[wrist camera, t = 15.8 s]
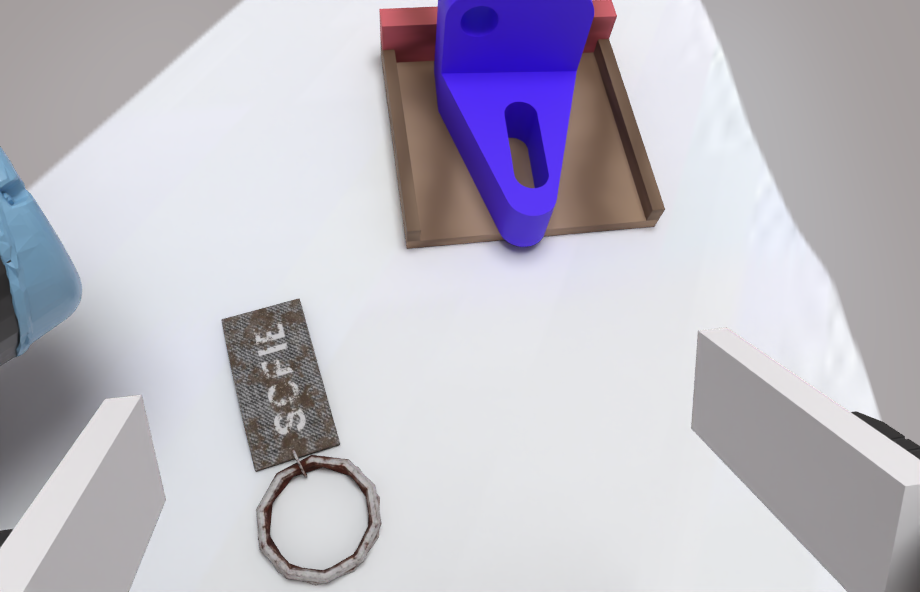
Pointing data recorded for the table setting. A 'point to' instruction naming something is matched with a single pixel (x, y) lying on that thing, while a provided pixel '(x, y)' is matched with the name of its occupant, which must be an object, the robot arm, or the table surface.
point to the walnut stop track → (513, 144)
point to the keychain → (288, 420)
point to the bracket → (510, 98)
